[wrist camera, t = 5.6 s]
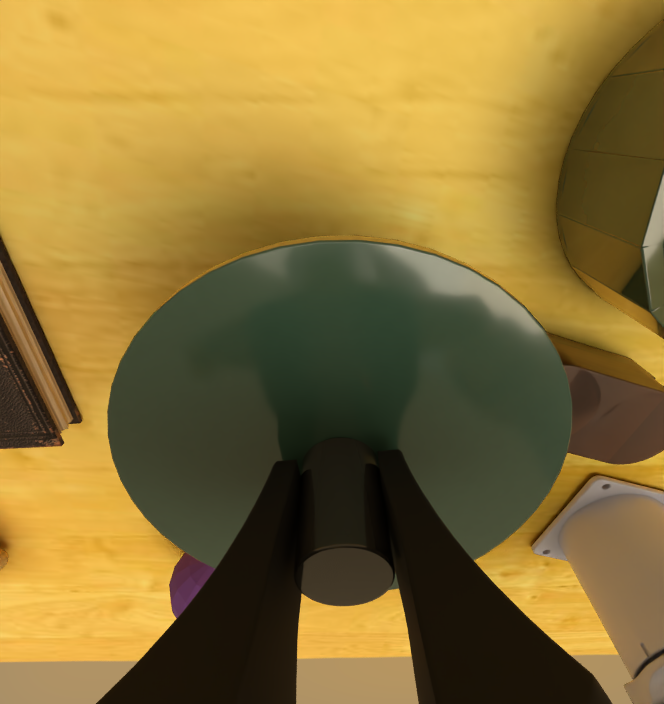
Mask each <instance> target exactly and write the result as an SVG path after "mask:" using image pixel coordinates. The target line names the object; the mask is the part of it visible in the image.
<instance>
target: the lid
mask: <svg viewBox="0 0 664 704" xmlns="http://www.w3.org/2000/svg"><path fill="white" fill-rule="evenodd" d="M107 413H108V438H109V443H110V449H111V454H112V459H113V461H114V464H115V467H116V469H117V472H118V475H119V477H120V480H121V482H122V484H123V485H124V487H125V489H126V491H127V492H128V494H129V496H130V498H131V500H132V501H133V502H134V504H135V505H136V506H137V507H138V509H139V510H140V511H141V513H142V514H143V515H144V517H145V518H146V519H147V520H148V521H149V522H150V523H151V524H152V525H153V526H154V527H155V528H156V529H157V530H158V531H159V532H160V533H161V534H162V535H163V536H165V537H166V538H167V539H168V540H170V541H171V542H172V543H173V544H175V545H176V546H177V547H178V548H180V549H181V550H183V551H184V552H186V553H188V554H189V555H191V556H192V557H194V558H195V559H197V560H199V561H201V562H202V563H204V564H206V565H208V566H210V567H212V568H214V569H216V567H217V566H218V564H219V563H220V561H221V560H222V558H223V557H224V555H225V554H226V552H227V551H228V549H229V547H230V546H231V544H232V543H233V541H234V539H235V538H236V536H237V534H238V533H239V531H240V530H241V528H242V526H243V525H244V523H245V521H246V519H247V517H248V516H249V514H250V512H251V510H252V508H253V506H254V505H255V503H256V501H257V499H258V497H259V495H260V493H261V491H262V489H263V487H264V485H265V483H266V481H267V479H268V476H269V474H270V472H271V470H272V467H273V465H274V464H275V463H276V462H277V461H285V460H295V459H297V463H298V467H299V472H300V476H301V482H300V495H299V508H298V522H297V535H296V548H295V562H294V581H295V584H296V586H297V588H298V589H299V590H300V591H301V592H302V593H303V594H304V595H305V596H307V597H308V598H310V599H312V600H314V601H316V602H319V603H322V604H327V605H333V606H354V605H360V604H364V603H367V602H370V601H373V600H375V599H377V598H379V597H380V596H382V595H383V594H385V593H386V592H387V591H388V590H393V589H398V588H399V586H398V581H397V577H396V573H395V566H394V560H393V553H392V546H391V540H390V533H389V526H388V520H387V513H386V507H385V502H384V498H383V492H382V485H381V478H380V472H379V463H378V452H377V451H385V450H395V449H399V450H400V451H401V452H402V453H403V456H404V458H405V460H406V463H407V465H408V467H409V469H410V471H411V473H412V474H413V476H414V478H415V480H416V482H417V483H418V485H419V487H420V488H421V490H422V492H423V493H424V495H425V496H426V498H427V499H428V501H429V502H430V504H431V505H432V507H433V508H434V510H435V511H436V513H437V514H438V516H439V517H440V519H441V520H442V521H443V523H444V524H445V525H446V527H447V528H448V529H449V531H450V532H451V533H452V535H453V536H454V537H455V539H456V540H457V541H458V542H459V544H460V545H461V546H462V547H463V549H464V550H465V551H466V552H467V553H468V555H469V556H470V557H471V558H472V559H473V560H476V559H478V558H479V557H481V556H483V555H485V554H486V553H488V552H489V551H490V550H492V549H493V548H495V547H496V546H498V545H499V544H501V543H502V542H503V541H505V540H506V539H507V538H508V537H509V536H511V535H512V534H513V533H514V532H515V531H516V530H518V529H519V528H520V527H521V526H522V525H523V524H524V523H525V522H526V521H527V520H528V518H529V517H530V516H531V515H532V514H533V513H534V512H535V511H536V510H537V508H538V507H539V506H540V504H541V503H542V502H543V500H544V499H545V497H546V496H547V495H548V493H549V492H550V490H551V488H552V486H553V484H554V483H555V481H556V479H557V477H558V475H559V473H560V471H561V468H562V465H563V463H564V460H565V457H566V454H567V451H568V447H569V441H570V436H571V431H572V399H571V393H570V388H569V382H568V377H567V374H566V372H565V369H564V366H563V364H562V361H561V358H560V355H559V353H558V351H557V350H556V348H555V346H554V344H553V343H552V341H551V339H550V338H549V336H548V334H547V333H546V331H545V329H544V328H543V327H542V326H541V325H540V323H539V322H538V321H537V320H536V319H535V318H534V316H533V315H532V314H531V313H530V312H529V311H528V309H527V308H526V307H525V306H524V305H523V304H522V303H521V302H520V301H519V300H517V299H516V298H515V297H514V296H513V295H511V294H510V293H509V292H508V291H507V290H505V289H504V288H503V287H502V286H501V285H499V284H498V283H497V282H496V281H495V280H493V279H492V278H490V277H488V276H487V275H485V274H483V273H481V272H480V271H478V270H476V269H475V268H473V267H471V266H470V265H468V264H466V263H465V262H462V261H460V260H457V259H455V258H452V257H450V256H448V255H445V254H443V253H440V252H438V251H436V250H433V249H430V248H426V247H422V246H418V245H414V244H410V243H406V242H402V241H399V240H393V239H385V238H376V237H367V236H359V235H352V236H316V237H310V238H303V239H296V240H290V241H283V242H279V243H275V244H272V245H268V246H265V247H262V248H258V249H255V250H251V251H248V252H245V253H242V254H240V255H238V256H236V257H234V258H231V259H229V260H227V261H225V262H222V263H220V264H218V265H216V266H214V267H212V268H210V269H208V270H207V271H205V272H204V273H202V274H201V275H199V276H197V277H196V278H194V279H193V280H191V281H190V282H188V283H186V284H185V285H183V286H182V287H181V288H180V289H179V290H178V291H176V292H175V293H174V294H173V295H172V296H171V297H170V298H168V299H167V300H166V301H165V302H164V303H163V304H162V305H160V306H159V307H158V309H157V310H156V311H155V312H154V313H153V314H152V315H151V317H150V318H149V319H148V320H147V322H146V323H145V324H144V325H143V326H142V328H141V329H140V330H139V331H138V332H137V334H136V335H135V336H134V338H133V340H132V341H131V343H130V345H129V347H128V348H127V350H126V352H125V354H124V355H123V357H122V359H121V361H120V363H119V366H118V369H117V372H116V375H115V377H114V380H113V383H112V386H111V392H110V398H109V405H108V411H107Z"/></svg>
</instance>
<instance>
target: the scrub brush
mask: <svg viewBox="0 0 664 704" xmlns="http://www.w3.org/2000/svg"><path fill="white" fill-rule="evenodd" d="M547 334H548V336H549V338H550V339H551V341H552V343H553V344H554V346H555V348H556V350H557V351H558V353H559V355H560V358H561V361H562V364H563V366H564V369H565V372H566V374H567V377H568V382H569V388H570V393H571V399H572V431H571V436H570V441H569V447H568V451H567V453H571V454H575V455H579V456H583V457H587V458H591V459H595V460H598V461H602V462H606V463H611V464H631V463H636V462H639V461H643V460H645V459H648V458H650V457H653V456H655V455H656V454H658V453H660V452H662V451H663V450H664V386H663V385H661V384H660V383H659V382H657V381H656V380H655V377H653V376H652V375H651V374H650V373H648V372H647V371H646V370H645V369H643V368H642V367H641V366H639V365H638V364H637V363H636V362H634V361H633V360H632V359H630V358H627V357H624V356H620V355H617V354H614V353H611V352H607V351H604V350H601V349H598V348H594V347H591V346H588V345H585V344H582V343H578V342H575V341H572V340H569V339H565V338H562V337H559V336H556V335H552V334H549V333H547Z"/></svg>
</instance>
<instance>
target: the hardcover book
mask: <svg viewBox="0 0 664 704" xmlns="http://www.w3.org/2000/svg"><path fill="white" fill-rule="evenodd" d="M81 422H82V419H81V417H80V414H79V412H78V410H77V408H76V406H75V403H74V401H73V399H72V397H71V394H70V392H69V390H68V388H67V385H66V383H65V381H64V379H63V377H62V374H61V372H60V370H59V368H58V365H57V363H56V361H55V359H54V357H53V354H52V352H51V350H50V348H49V345H48V343H47V341H46V339H45V336H44V334H43V332H42V330H41V328H40V325H39V323H38V321H37V319H36V316H35V314H34V312H33V310H32V308H31V305H30V303H29V301H28V299H27V296H26V294H25V292H24V290H23V288H22V285H21V283H20V281H19V279H18V276H17V274H16V272H15V270H14V267H13V265H12V263H11V261H10V259H9V256H8V254H7V252H6V250H5V247H4V245H3V243H2V241H1V239H0V449H10V448H31V447H52V446H62V445H63V444H64V441H63V439H62V437H61V435H60V433H62V432H61V431H62V430H65V429H68V424H76V423H81Z"/></svg>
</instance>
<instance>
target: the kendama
mask: <svg viewBox="0 0 664 704" xmlns="http://www.w3.org/2000/svg"><path fill="white" fill-rule="evenodd" d="M214 570H215V569H214V568H212V567H210V566H208V565H206V564H204V563H202V562H201V561H199V560H197V559H195V558H194V557H192V556H191V555H189V554H188V553H186V552H185V554H184V555H183V556H182V558H181V559H180V560H179V562H178V563H177V564H176V566H175V568H174V571H173V574H172V578H171V581H170V584H169V586H170V597H171V605H172V611H173V613H174V615H175V617H176V618H178V617H179V616H180V614H181V613H182V612H183V611H184V609H185V608H186V607H187V606H188V604H189V603H190V602H191V601H192V599H193V598H194V597H195V595H196V594H197V593H198V592H199V590H200V589H201V588H202V586H203V585H204V584H205V582H206V581H207V580H208V578H209V577H210V576H211V574H212V573H213V571H214Z"/></svg>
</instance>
